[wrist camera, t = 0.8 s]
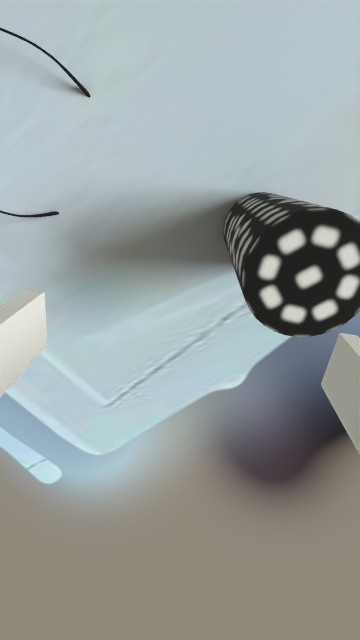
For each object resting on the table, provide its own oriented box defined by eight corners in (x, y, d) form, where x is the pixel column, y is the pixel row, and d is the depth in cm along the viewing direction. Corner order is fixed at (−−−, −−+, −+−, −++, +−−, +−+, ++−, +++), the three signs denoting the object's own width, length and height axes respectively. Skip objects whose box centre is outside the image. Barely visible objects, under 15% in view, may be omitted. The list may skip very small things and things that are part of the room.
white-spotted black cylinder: (243, 276, 41) (276, 356, 23) (210, 217, 39) (218, 254, 20) (306, 242, 39) (397, 299, 21) (276, 177, 37) (349, 178, 18)
